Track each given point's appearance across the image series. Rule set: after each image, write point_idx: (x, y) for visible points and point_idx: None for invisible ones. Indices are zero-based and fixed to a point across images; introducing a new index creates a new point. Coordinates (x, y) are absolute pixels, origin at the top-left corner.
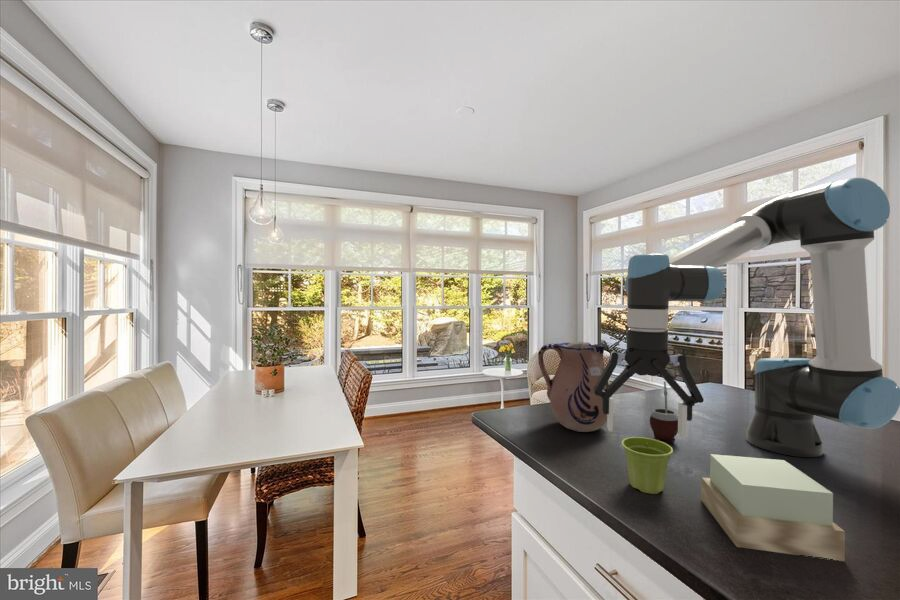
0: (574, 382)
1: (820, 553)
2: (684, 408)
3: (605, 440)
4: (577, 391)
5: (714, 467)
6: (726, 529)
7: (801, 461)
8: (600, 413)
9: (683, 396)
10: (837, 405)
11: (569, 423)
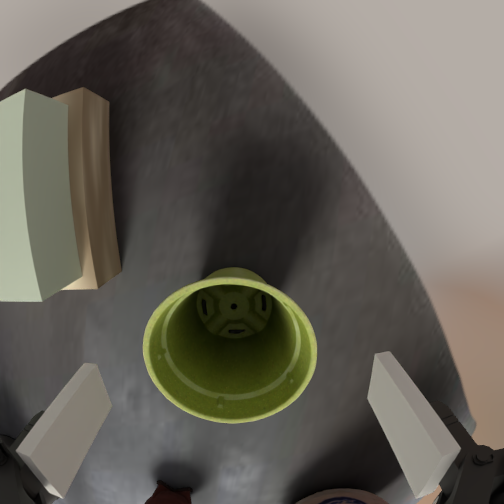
0: None
1: None
2: (30, 443)
3: (288, 478)
4: None
5: (51, 261)
6: (105, 141)
7: (8, 428)
8: None
9: (8, 490)
10: None
11: (361, 492)
